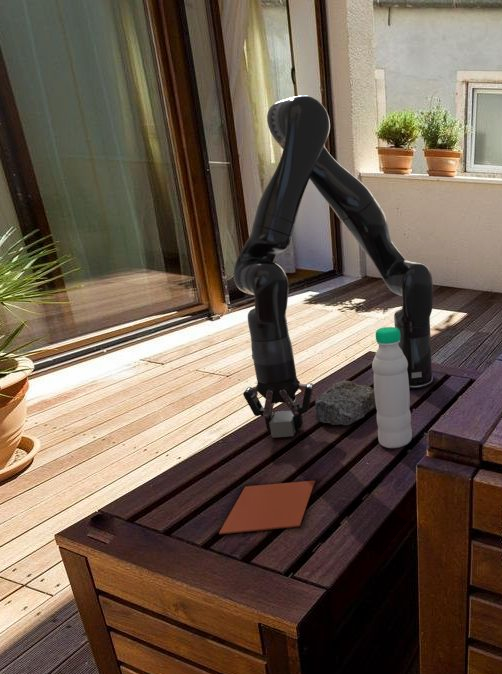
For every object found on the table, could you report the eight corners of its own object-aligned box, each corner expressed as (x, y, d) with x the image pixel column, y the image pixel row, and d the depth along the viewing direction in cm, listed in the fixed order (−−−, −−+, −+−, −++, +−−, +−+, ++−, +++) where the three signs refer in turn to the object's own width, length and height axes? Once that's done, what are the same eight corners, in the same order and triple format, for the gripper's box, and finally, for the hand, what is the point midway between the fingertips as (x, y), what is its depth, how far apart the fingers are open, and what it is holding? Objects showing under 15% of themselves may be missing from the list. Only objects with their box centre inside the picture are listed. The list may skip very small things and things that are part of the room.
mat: (245, 487, 85) (245, 486, 85) (315, 481, 87) (315, 480, 86) (219, 534, 73) (218, 533, 73) (299, 526, 75) (299, 525, 75)
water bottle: (401, 452, 96) (393, 336, 88) (371, 446, 98) (361, 332, 90) (418, 435, 103) (412, 326, 94) (389, 430, 105) (381, 322, 97)
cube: (278, 425, 105) (276, 411, 104) (299, 424, 105) (297, 410, 104) (271, 437, 100) (269, 422, 99) (293, 436, 101) (291, 421, 99)
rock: (352, 432, 104) (385, 405, 118) (351, 406, 102) (385, 381, 116) (303, 423, 107) (341, 397, 121) (300, 397, 105) (339, 374, 119)
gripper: (313, 348, 102) (323, 419, 107) (242, 352, 99) (256, 424, 105) (305, 361, 95) (316, 436, 100) (229, 365, 92) (244, 441, 98)
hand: (285, 429), depth 103 cm, fingers closed on cube, 4 cm apart
